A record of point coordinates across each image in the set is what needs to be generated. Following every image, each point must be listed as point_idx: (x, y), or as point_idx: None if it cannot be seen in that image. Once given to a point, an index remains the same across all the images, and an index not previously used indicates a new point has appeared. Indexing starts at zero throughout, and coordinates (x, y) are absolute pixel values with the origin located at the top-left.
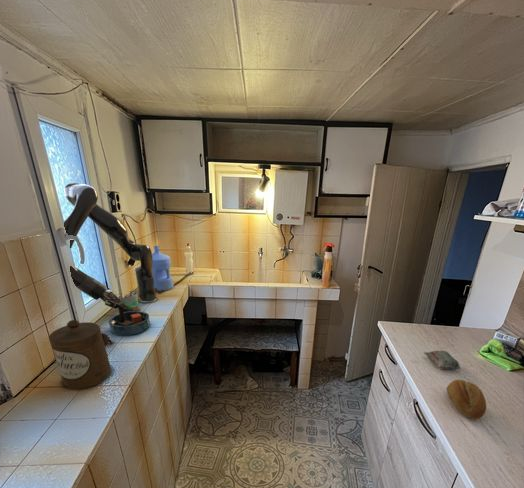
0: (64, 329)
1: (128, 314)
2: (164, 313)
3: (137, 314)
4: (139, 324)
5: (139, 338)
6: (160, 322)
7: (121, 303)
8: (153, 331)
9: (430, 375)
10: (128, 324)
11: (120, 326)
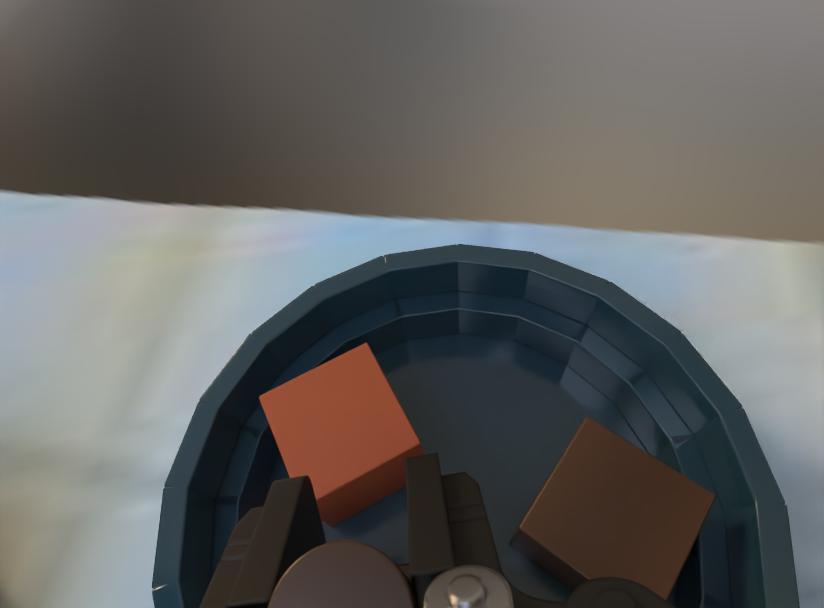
0: None
1: (196, 575)
2: (156, 232)
3: (306, 405)
4: (656, 321)
5: (753, 369)
6: (371, 236)
7: (387, 566)
8: (579, 265)
9: None
10: (670, 468)
11: (791, 581)
